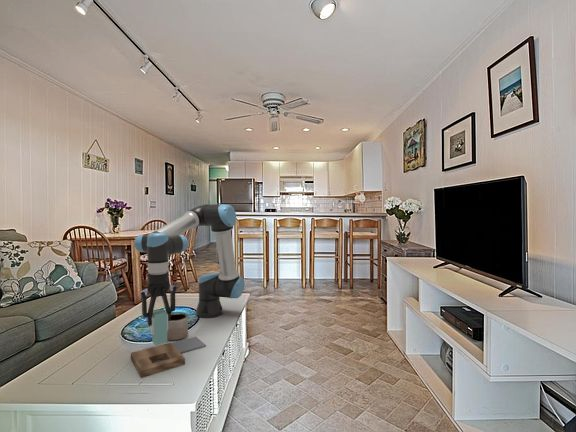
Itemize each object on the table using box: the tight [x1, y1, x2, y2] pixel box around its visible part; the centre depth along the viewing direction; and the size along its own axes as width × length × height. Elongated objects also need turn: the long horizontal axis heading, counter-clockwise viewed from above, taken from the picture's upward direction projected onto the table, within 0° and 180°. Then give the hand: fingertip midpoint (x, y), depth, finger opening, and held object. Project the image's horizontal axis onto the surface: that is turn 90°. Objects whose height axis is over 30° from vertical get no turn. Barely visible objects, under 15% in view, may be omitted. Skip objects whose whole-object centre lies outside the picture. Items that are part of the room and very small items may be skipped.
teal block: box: [151, 308, 168, 347], centre depth 124 cm, size 4×4×12 cm
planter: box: [167, 312, 189, 342], centre depth 151 cm, size 11×11×10 cm
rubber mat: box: [170, 336, 207, 354], centre depth 141 cm, size 12×12×1 cm
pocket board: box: [130, 342, 186, 379], centre depth 126 cm, size 16×18×2 cm
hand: (159, 331), depth 124 cm, fingers closed on teal block, 4 cm apart
